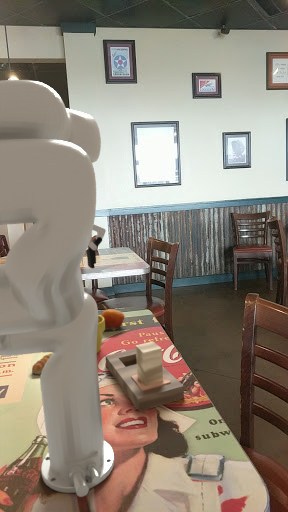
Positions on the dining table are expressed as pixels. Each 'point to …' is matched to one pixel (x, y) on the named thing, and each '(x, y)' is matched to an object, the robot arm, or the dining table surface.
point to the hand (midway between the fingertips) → (70, 270)
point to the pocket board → (139, 394)
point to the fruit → (113, 319)
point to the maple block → (149, 363)
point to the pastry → (40, 364)
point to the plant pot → (100, 331)
